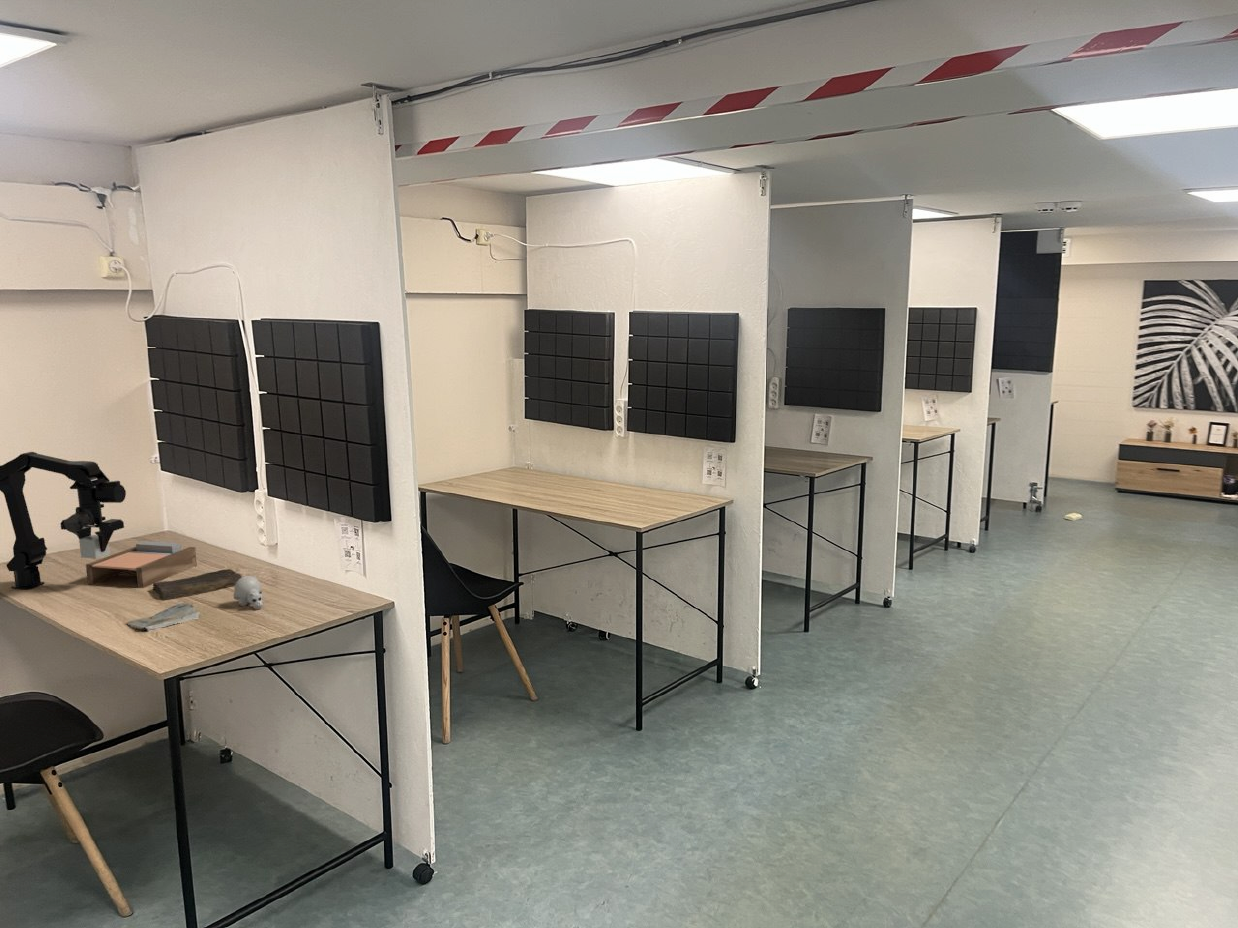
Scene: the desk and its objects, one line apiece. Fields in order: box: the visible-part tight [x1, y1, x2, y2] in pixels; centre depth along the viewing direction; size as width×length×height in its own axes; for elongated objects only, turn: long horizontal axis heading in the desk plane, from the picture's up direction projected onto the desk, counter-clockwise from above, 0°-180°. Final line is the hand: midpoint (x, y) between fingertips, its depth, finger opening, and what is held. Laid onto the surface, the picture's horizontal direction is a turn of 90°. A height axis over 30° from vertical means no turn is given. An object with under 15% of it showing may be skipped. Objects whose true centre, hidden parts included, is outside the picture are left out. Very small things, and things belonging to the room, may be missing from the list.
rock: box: [152, 568, 243, 601], centre depth 272 cm, size 25×4×15 cm
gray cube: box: [78, 534, 111, 560], centre depth 269 cm, size 6×6×6 cm
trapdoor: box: [92, 540, 182, 571], centre depth 283 cm, size 16×22×5 cm
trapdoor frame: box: [85, 546, 198, 589], centre depth 285 cm, size 21×25×6 cm
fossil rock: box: [125, 602, 201, 632], centre depth 244 cm, size 18×15×2 cm
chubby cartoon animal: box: [233, 575, 264, 610], centre depth 254 cm, size 7×12×8 cm, turn 45°
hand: (95, 550), depth 270 cm, fingers closed on gray cube, 5 cm apart
